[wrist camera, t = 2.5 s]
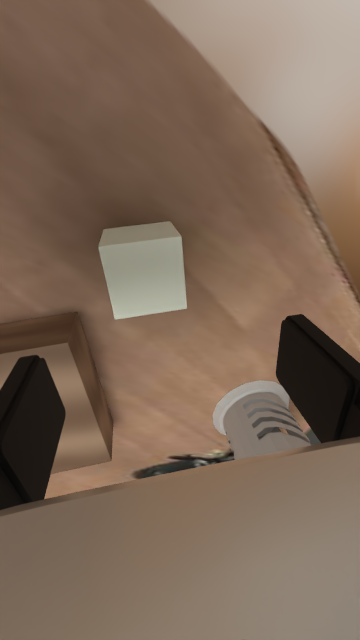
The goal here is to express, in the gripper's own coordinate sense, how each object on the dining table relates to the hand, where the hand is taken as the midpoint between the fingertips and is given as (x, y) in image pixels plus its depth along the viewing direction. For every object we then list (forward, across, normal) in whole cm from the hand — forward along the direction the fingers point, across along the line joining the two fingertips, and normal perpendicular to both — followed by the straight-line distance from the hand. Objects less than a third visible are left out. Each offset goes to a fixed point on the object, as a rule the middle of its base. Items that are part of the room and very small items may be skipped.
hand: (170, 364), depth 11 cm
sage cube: (+13, +1, -1) cm, 13 cm away
